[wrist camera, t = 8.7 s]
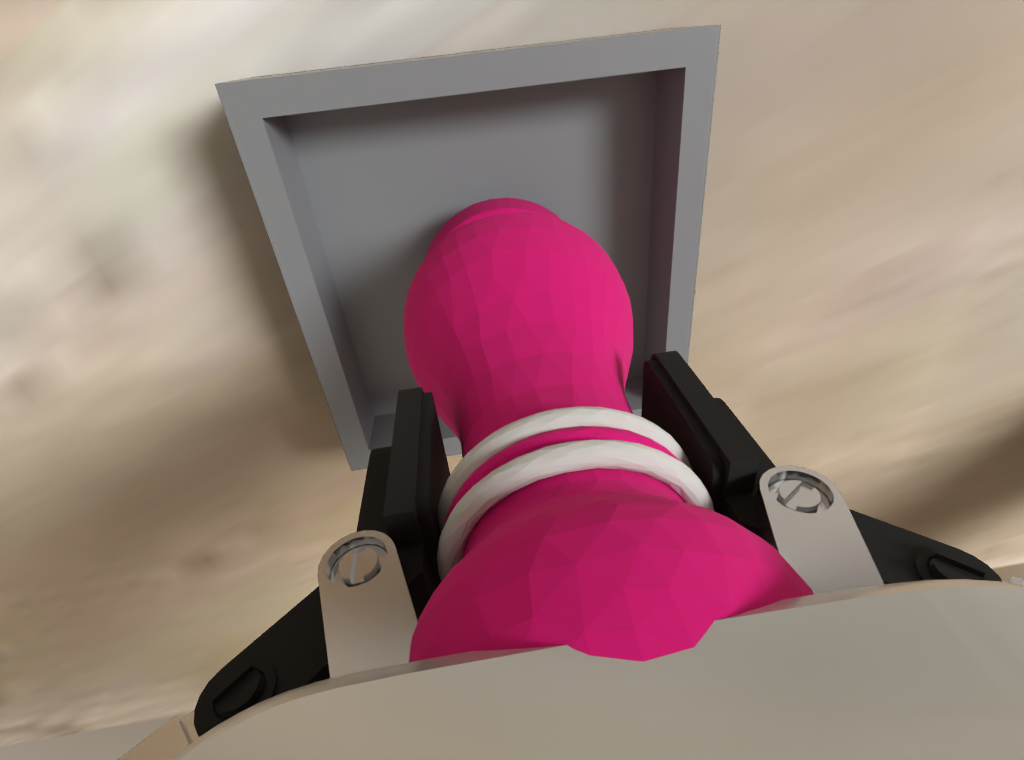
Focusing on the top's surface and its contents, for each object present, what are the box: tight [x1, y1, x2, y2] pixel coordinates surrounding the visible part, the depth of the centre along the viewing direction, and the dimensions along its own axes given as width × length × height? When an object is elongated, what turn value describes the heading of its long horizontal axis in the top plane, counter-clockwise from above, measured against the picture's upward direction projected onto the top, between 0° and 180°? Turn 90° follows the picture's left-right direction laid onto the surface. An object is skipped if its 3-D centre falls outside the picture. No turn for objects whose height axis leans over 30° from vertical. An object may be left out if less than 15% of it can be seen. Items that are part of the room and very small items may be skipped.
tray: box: [215, 25, 721, 471], centre depth 21 cm, size 15×15×4 cm
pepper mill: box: [404, 198, 814, 662], centre depth 12 cm, size 7×7×20 cm
